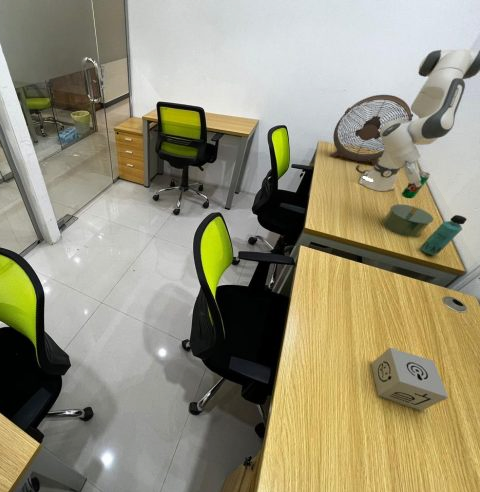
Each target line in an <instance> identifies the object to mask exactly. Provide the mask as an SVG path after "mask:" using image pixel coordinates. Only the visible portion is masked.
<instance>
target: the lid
mask: <svg viewBox="0 0 480 492" xmlns="http://www.w3.org/2000/svg"><path fill="white" fill-rule="evenodd" d="M389 209H390V210H391V212H392V213H393V214H394V215H396V216H397V217H399V218H401V219H403V220H406V221H409V222H413V223H418V224H428V225H430V224H431V223H433V221H434V217H433V215H431V214H430V213H429V212H427V211H425V210H424V209H422V208H420V207H418V206H416V205H415V206H413V205H409V204H399V203H398V204H393V205H392V206H391V207H390V208H389ZM390 210H389V211H390Z"/></svg>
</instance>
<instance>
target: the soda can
mask: <svg viewBox="0 0 480 492" xmlns="http://www.w3.org/2000/svg"><path fill="white" fill-rule="evenodd" d="M419 173H420V178H421V181H420V182H421V184H422V185H421V186H419V187H416V185H415V184H414V183H413V184H410V183H409V182H408V183H407V185H406V186H405V187H404V189H403V191H402V192H401V196H402V197H403V198H405V199H414V198H415V197H416V196H417V195H418V193H419V192H420V191H421V189H422V188H423V186H425V184H426V183H427V181H428V180H429V179H430V176H431V174H430V173H429V172H427V171H423V170H419Z"/></svg>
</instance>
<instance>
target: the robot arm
mask: <svg viewBox="0 0 480 492" xmlns="http://www.w3.org/2000/svg"><path fill="white" fill-rule="evenodd" d="M417 73H418V75H419V76H421V77H424V78H426V77H427V79H426V81H425V82H424V84H423V85H422V87H421V88H420V90H419V91H418V93H417V94H416V97H415V99H414V100H413V102H412V103H411V105H410V110H411V113H412V114H413V115H416V116H417V117H418V119H415V120H411V121H408V120H407V119H405V120H403V119H402V120H401V119H400V120H399V119H397V120H396V119H395V120H392V119H390V121H388V120H387V121H388V122H387V123H386V122H384V123H383V125H381V127H380V128H381V130H379V132H380V136H381V138H382V139H381V138H380V139H381V140H382V141H383V144H384V145H383V147H384V146H385V148H384V149H383V150H384V152H383V155H382V157H380V158H379V159H380V160H379V162H378V163H377V164H376V165H375V166H373V167H371V168H369V169H368V170H367V169H364V170H363V171H362V170H360V169H359V167H360V164H358V165H357V166H356V167H355V168H356V171H357V172H359V173H360V174H361V176H360V178H359V181H358V184H359V185H361V186H364V187H365V188H367V189H371V190H374V191H377V192H378V191H379V192H388V191H390V190H394V189H395V187H394V184H395V183H396V181H397V179H398V177H399V176H398V175H397V174H398V173H399V172H400V169H403V172H404V174H405V177H406V179H407V181H408V184H409V183H410V184H413V183H414V184H415V185H416V187H419V186H421V185H422V184H421V182H420V181H421V178H420V173H419V171H420V170H419V164H418V162H419V159H420V158H421V153H420V152H419V149H418V147H417V146H418V145H420V146H421V145H422V146H425V145H426V146H427V145H431V144H433V143H435V142H436V141H437V140H438V139H439V138H443V137H445V136H446V135H448V134H449V133H450V131H452V129H453V127H454V125H455V118H456V114H457V111H458V109H459V106H460V103H461V101H462V98H463V95H464V92H465V89H466V83H465V81H464V80H467V79H471V78H473V77H474V76H477V74H479V73H480V50H475V49H466V48H458V49H447V50H446V49H445V50H442V49H437V50H433V51H431V52H429V53H428V54H427V55H426V56H425V57H424V58H423V59H422V61H420V64H419V66H418V72H417ZM382 141H381V142H382ZM416 145H417V146H416Z"/></svg>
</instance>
